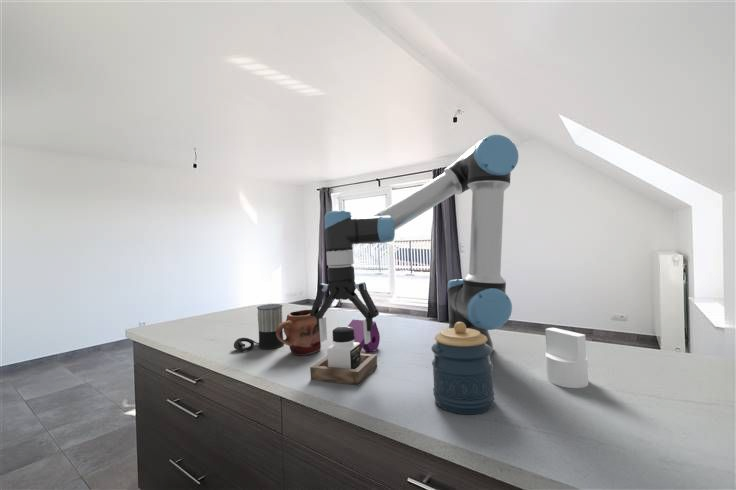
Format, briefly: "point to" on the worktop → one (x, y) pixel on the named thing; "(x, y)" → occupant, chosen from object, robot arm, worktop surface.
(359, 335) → the mounting bracket
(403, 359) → the worktop surface
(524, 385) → the worktop surface
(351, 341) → the medicine bottle
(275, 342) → the milk frother
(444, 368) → the canister
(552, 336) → the base with upright slab
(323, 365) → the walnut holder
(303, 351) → the terracotta mug
